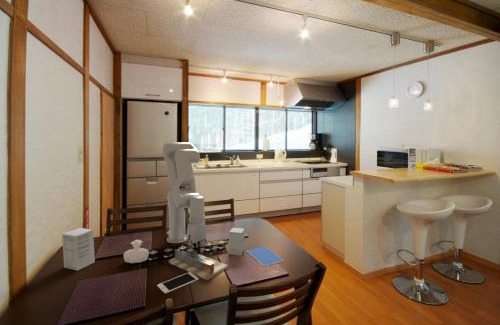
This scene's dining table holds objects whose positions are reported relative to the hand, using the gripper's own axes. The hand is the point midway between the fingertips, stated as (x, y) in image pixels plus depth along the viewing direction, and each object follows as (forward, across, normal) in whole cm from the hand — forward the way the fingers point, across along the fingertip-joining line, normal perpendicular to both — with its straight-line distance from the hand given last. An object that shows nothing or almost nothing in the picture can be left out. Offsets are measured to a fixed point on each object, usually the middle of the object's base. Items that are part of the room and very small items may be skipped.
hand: (197, 253), depth 134 cm
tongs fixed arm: (+1, +9, +6) cm, 11 cm away
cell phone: (+3, +21, +10) cm, 24 cm away
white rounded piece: (+2, +20, -22) cm, 30 cm away
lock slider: (+1, +4, 0) cm, 4 cm away
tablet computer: (+3, -22, +28) cm, 36 cm away
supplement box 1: (+2, +39, -40) cm, 56 cm away
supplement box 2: (+2, -17, +13) cm, 22 cm away
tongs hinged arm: (+1, +8, +8) cm, 11 cm away
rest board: (+2, +6, +6) cm, 9 cm away
